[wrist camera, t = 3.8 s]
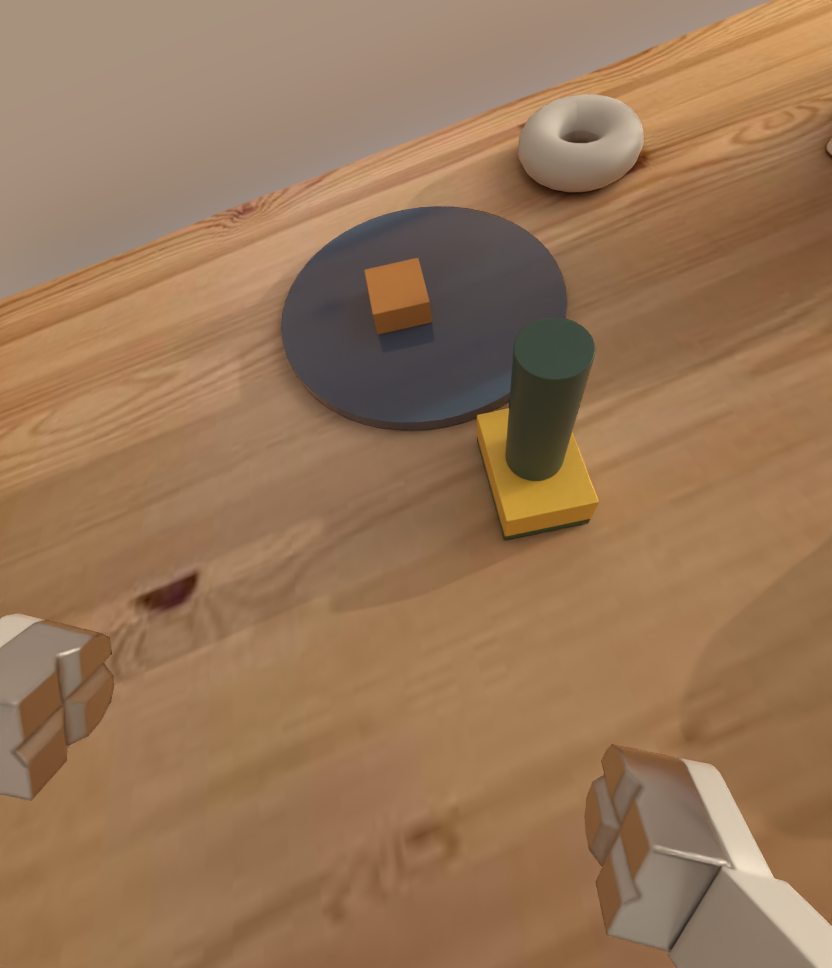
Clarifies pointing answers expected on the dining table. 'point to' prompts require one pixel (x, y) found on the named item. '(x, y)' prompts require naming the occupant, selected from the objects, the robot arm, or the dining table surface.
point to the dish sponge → (540, 433)
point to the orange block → (398, 296)
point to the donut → (580, 165)
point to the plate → (429, 347)
